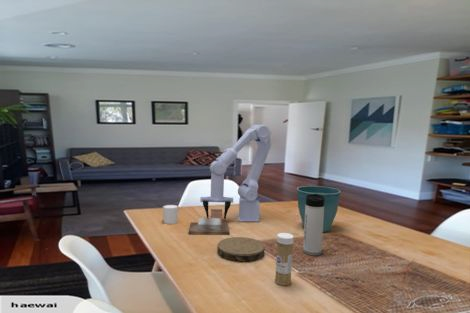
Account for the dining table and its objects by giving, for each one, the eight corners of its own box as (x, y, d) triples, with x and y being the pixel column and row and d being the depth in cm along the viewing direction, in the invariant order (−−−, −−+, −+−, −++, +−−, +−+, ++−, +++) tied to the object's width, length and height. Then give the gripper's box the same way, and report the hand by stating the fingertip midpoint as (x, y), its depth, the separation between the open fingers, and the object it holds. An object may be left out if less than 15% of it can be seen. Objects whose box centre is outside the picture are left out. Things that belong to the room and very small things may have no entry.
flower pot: (290, 231, 136) (292, 190, 134) (299, 220, 152) (301, 184, 151) (336, 237, 129) (338, 195, 127) (339, 225, 146) (341, 188, 144)
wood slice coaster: (258, 266, 101) (258, 257, 100) (210, 258, 105) (210, 249, 105) (268, 248, 116) (268, 240, 116) (225, 242, 120) (226, 234, 120)
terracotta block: (221, 220, 148) (222, 209, 148) (221, 223, 143) (222, 212, 143) (210, 219, 148) (211, 209, 148) (210, 223, 143) (210, 212, 143)
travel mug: (322, 250, 115) (325, 194, 113) (320, 256, 109) (324, 198, 107) (304, 247, 117) (307, 192, 115) (301, 254, 111) (305, 196, 109)
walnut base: (228, 225, 140) (228, 217, 140) (229, 234, 128) (229, 225, 128) (190, 225, 139) (190, 216, 139) (188, 234, 127) (188, 225, 127)
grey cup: (180, 220, 145) (180, 205, 145) (176, 224, 139) (176, 208, 138) (165, 219, 146) (165, 204, 145) (160, 223, 139) (160, 207, 139)
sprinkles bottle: (271, 282, 90) (273, 234, 89) (280, 276, 93) (282, 231, 92) (285, 287, 87) (288, 239, 86) (294, 282, 91) (296, 235, 89)
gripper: (200, 189, 140) (199, 220, 141) (234, 190, 141) (233, 220, 142) (201, 186, 147) (200, 215, 148) (233, 187, 148) (232, 216, 149)
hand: (216, 218), depth 146 cm, fingers open, 7 cm apart
